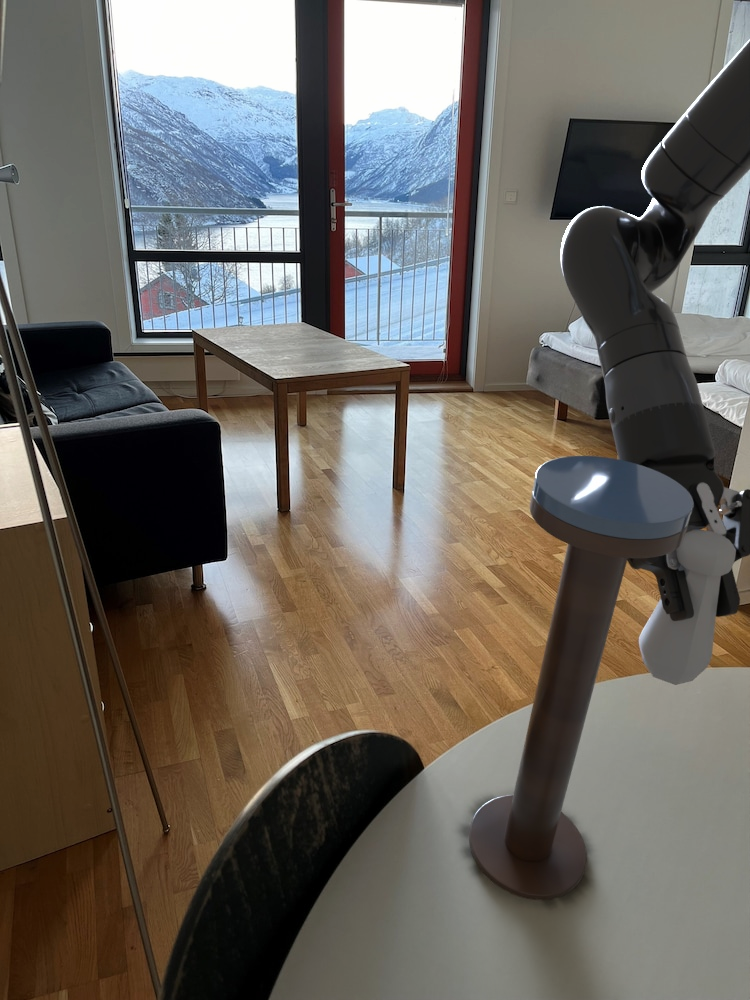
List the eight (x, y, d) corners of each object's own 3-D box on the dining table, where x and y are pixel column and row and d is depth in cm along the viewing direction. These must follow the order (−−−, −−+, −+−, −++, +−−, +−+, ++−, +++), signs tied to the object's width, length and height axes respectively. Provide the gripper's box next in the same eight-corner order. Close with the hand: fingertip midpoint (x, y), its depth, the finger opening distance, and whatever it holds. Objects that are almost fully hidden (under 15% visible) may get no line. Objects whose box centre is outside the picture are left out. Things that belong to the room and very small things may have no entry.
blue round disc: (551, 458, 49) (554, 444, 48) (694, 491, 46) (698, 476, 45) (515, 512, 41) (518, 496, 41) (683, 556, 38) (687, 539, 38)
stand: (486, 791, 63) (551, 458, 49) (592, 834, 60) (694, 491, 46) (451, 876, 56) (515, 512, 41) (570, 930, 52) (683, 556, 38)
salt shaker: (621, 666, 63) (658, 535, 57) (650, 638, 67) (687, 513, 61) (688, 702, 60) (734, 566, 54) (714, 670, 63) (760, 540, 57)
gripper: (603, 400, 58) (651, 617, 53) (756, 397, 61) (815, 601, 56) (562, 437, 65) (601, 631, 60) (701, 432, 68) (750, 617, 63)
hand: (705, 616), depth 58 cm, fingers closed on salt shaker, 3 cm apart
